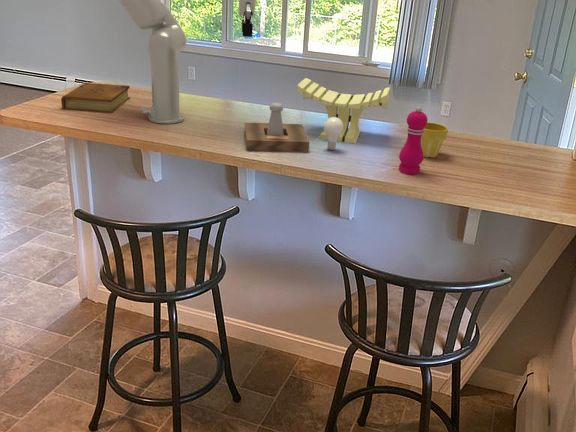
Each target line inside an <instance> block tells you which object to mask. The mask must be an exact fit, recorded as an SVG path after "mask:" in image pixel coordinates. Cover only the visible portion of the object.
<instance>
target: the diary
mask: <svg viewBox="0 0 576 432" xmlns="http://www.w3.org/2000/svg"><path fill="white" fill-rule="evenodd" d="M129 89H130V85H122V84H111V83H110V84H108V83H107V84H106V83H93V82H84V83H83V84H81V85H79V86H78V87H76V88H74V89H73V90H71V91H69V92H68V93H66V94H63V96H62V97H61V109H62V110H64V111H65V110H66V111H79V112H91V113H92V112H93V113H106V114H113V113H115V111H118V109H119V108H121V107H122V106H123V105H124V104H126V103H127V102H128V101H129V100H130V99H131V96H129ZM127 100H128V101H127ZM126 101H127V102H126Z"/></svg>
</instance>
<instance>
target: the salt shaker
mask: <svg viewBox="0 0 576 432" xmlns="http://www.w3.org/2000/svg"><path fill="white" fill-rule="evenodd" d="M269 110H270V116H269V121H268V123H269V125H268V129H267V135H284V133H283V126H282V124H283V119H282V111H283V110H284V104H282V103H280V102H271V104H270V106H269Z"/></svg>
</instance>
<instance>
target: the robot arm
mask: <svg viewBox="0 0 576 432" xmlns="http://www.w3.org/2000/svg"><path fill="white" fill-rule="evenodd" d="M118 1H119V2H120V4H121V5H122V7H123V8H124V10H125V11H126V12H127V14H128V15H129V18H131V20H132V21H133V23H134V24H135V25H136V27H138V29H141V30H142V31H143V30H144V31H149V30H152V34H151V35H149V37H148V42H147V50H148V54H149V62H150V74H151V75H150V76H151V95H152V97H151V98H152V101H151V102H152V106H149V107H146V106H145V107H144V106H141V107H140V110H139V111H140V113H141V114H143V115H147V114H149V115H148V120H149V121H150V122H152V123H157V124H163V125H166V124H169V125H170V124H171V125H172V124H178V123H181V122H183V121H184V120H185V116H184V115H183V114H182V113H181V112H180V74H179V73H180V71H179V64H178V63H179V62H178V57H177V54H179V53H181V52H183V50H184V49H185V48H186V45H187V37H186V33H185V32H184V30H183V29H182V26H180V24H179V22H178V21H177V20H176V18H175V16H174V15H173V14H172V12H171V11H170V9H169V8H168V7H167V5H166V4H165V3H164V2H162V1H161V0H118ZM256 2H257V1H256V0H238V16H239V17H242V19H241V33H242V35H241V36H242V37H244V38H245V37H246V38H247V37H248V38H252V37H253V29H254V28H253V27H254V24H253V17H255V11H256Z"/></svg>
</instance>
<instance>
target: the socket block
mask: <svg viewBox="0 0 576 432" xmlns="http://www.w3.org/2000/svg"><path fill="white" fill-rule="evenodd" d="M268 125H269V122H244V141H245V149H246V151H247V152H252V151H253V152H279V153H281V152H282V153H287V152H288V153H309V152H310V151H309V150H310V140H309V138H308V135H307V133H306V130H305V127H304V126H303V124H302V123H282V126H283V133H284V135H267V129H268Z"/></svg>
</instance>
